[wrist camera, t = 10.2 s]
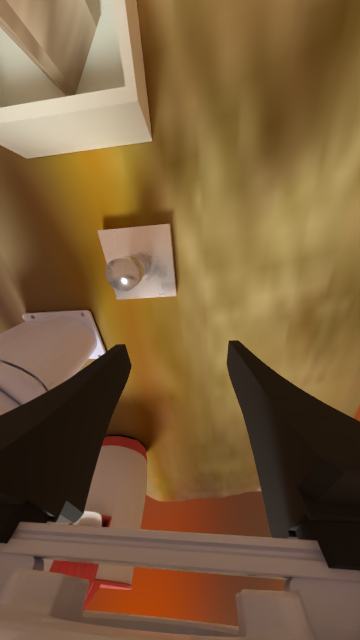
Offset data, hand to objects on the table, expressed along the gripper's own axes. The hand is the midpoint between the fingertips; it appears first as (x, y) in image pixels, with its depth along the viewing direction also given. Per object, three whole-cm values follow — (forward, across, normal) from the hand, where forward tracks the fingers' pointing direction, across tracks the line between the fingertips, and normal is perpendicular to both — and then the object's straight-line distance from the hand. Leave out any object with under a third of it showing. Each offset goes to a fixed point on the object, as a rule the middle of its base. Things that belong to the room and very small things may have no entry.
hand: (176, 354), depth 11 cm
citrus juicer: (+10, +17, +36) cm, 41 cm away
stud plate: (+9, +4, -5) cm, 11 cm away
